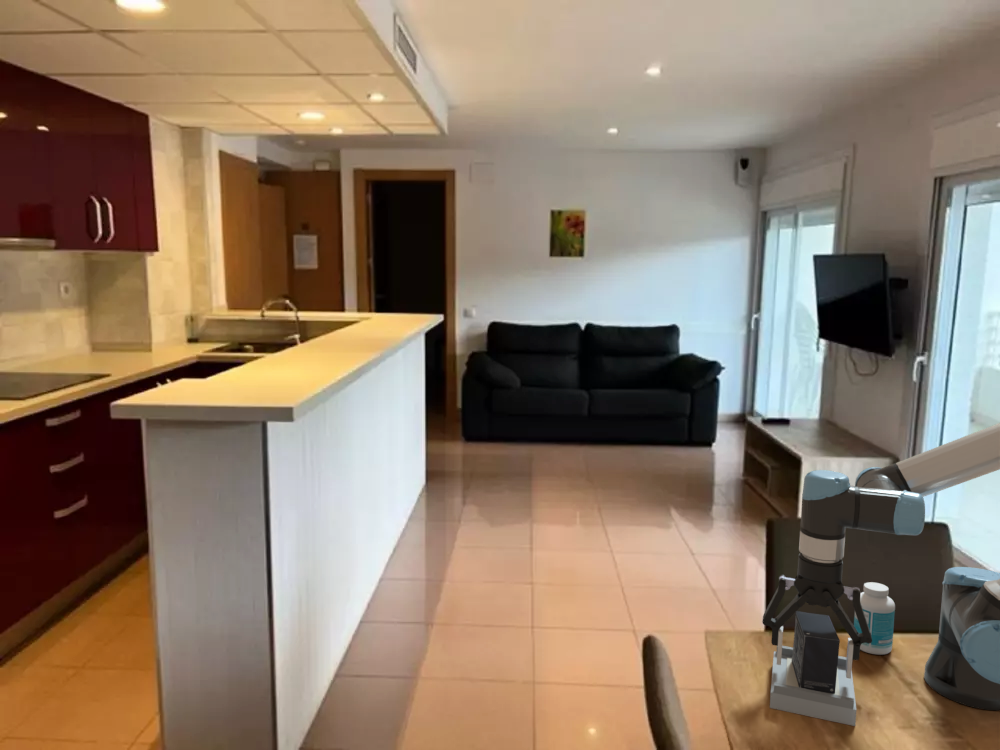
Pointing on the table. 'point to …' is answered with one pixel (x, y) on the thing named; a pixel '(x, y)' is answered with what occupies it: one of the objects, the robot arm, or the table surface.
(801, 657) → the small box
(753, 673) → the table surface
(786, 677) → the dock
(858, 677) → the table surface
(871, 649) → the pill bottle
